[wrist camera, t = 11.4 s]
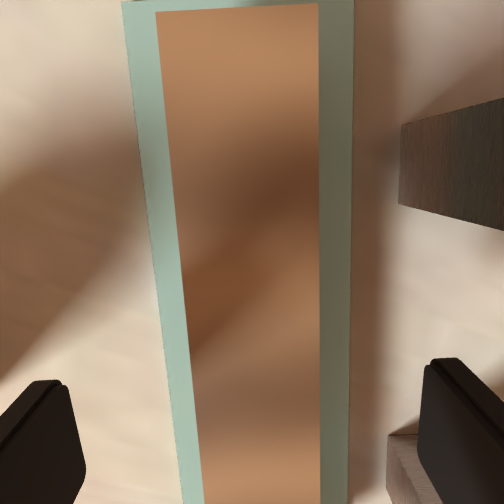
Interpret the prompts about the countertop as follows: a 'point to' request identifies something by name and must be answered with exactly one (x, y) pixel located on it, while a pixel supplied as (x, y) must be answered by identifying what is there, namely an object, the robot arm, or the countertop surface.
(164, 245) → the mat
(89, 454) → the countertop surface
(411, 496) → the post
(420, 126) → the post
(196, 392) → the rail
